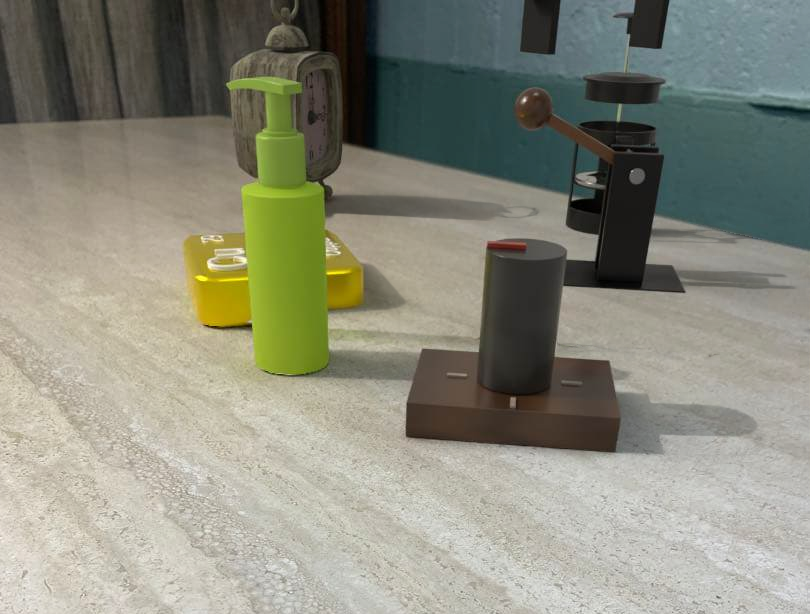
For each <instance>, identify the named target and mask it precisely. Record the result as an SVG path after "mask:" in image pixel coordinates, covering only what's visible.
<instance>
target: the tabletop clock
mask: <svg viewBox="0 0 810 614" xmlns="http://www.w3.org/2000/svg"><path fill="white" fill-rule="evenodd" d="M275 2H276V0H270V8H271V12H272V15H273V16H274V18H275V19H276V20H277V21H278V22H280V23H281V24H280V25H277V26H274V27H273V28H271V29H270V31H269V32H268V35H267V37H266V40H265V46H266V47H273V48H274V49H273V48H263V49H260V50H257V51H253V52H251V53H248V54H247V55H246V56H244V57H242V58H241V59H239V60H238V61H236V62H235V63H234V64H233V65H232V66H231V68H230V75H229V76H230V77H229V82H231V81H235V80H239V79H247V78H256V77H277V78H282V79H287V80H291V81H295V82H299V83H302V93H296V94H290V99H291V120H292V128H295V129H297V132H299V133H302V134H303V135H304V139H305V163H306V181H308V182H312V183H317V184H318V185H321V186H322V187H323V188H324V199H326V198H328V199H329V198H330V197H332V196H333V194H334V193H333V192H334V190H333V187H332V186H331V185H330V184H325V182H324V180H326V179H327V178H329V177H330V176H331V175H333V174H335V172H336V171H337V170H338V169H339V168H340V165H341V164H342V155H343V139H344V104H343V103H344V102H343V101H344V100H343V82H342V71H341V64H340V63H341V62H340V58H339V57H338V56H337V55H336V54H335V53H334V52H331V51H314V50H313V51H312V50H311V51H310V50H297V49H296V50H292V48H305V47H309V42H308V38H307V37H306V35H305V33H304V32H303V30H302V29H301V28H300V27H297V26H295V25H292V24H291V22H292V21H293V20H294V19H295V18H296V17H297V14H298V11H299V4H300V2H299V0H294V7H293V10H292V12H291V11H290V9H289V7H282V8H281V9H280V13H279V12H278V10H277V9H276V3H275ZM275 48H283V49H275ZM229 93H230V94H229V95H230V111H231V125H232V133H233V143H234V151H235V157H236V162H237V165H238V167H239V168H240V169H241V170H242V171H244V172H245V173H246V174H247V175H248V176H250V177H252V178H254V179H258V166H257V151H256V134H258V133H260V132H262V129H264V128H267V116H266V100H265V91H261V90H256V89H249V88H247V89H239V90H229Z"/></svg>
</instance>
